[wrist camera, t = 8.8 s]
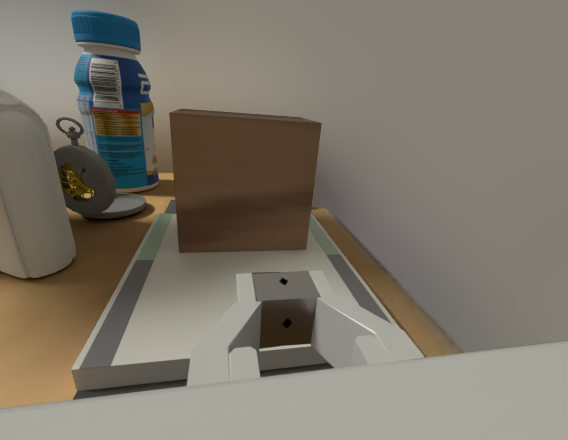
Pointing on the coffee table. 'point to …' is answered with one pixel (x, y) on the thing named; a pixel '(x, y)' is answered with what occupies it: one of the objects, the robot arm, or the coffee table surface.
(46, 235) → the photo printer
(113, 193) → the pocket watch
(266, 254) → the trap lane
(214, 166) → the walnut block
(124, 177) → the beverage bottle
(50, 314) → the coffee table surface
